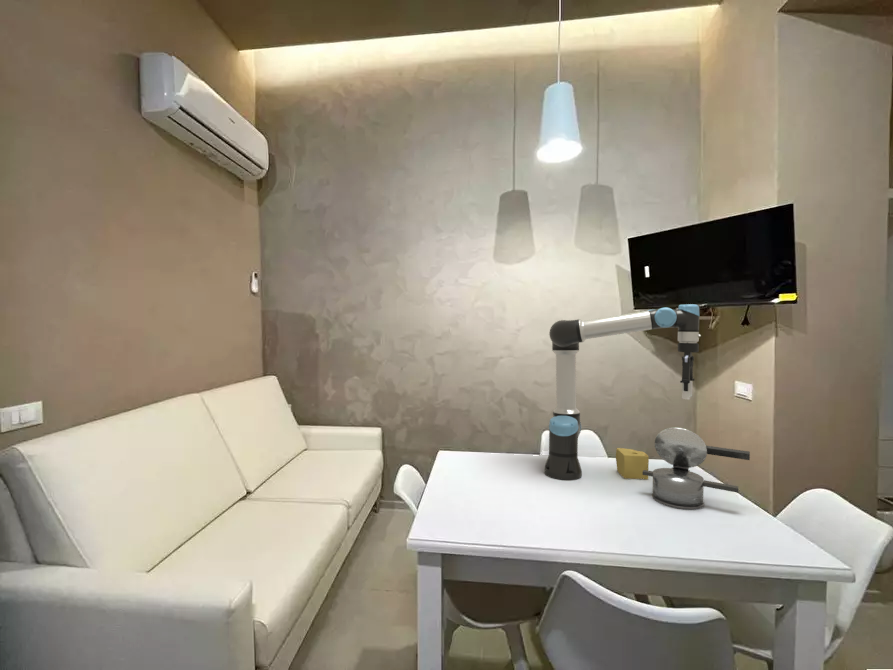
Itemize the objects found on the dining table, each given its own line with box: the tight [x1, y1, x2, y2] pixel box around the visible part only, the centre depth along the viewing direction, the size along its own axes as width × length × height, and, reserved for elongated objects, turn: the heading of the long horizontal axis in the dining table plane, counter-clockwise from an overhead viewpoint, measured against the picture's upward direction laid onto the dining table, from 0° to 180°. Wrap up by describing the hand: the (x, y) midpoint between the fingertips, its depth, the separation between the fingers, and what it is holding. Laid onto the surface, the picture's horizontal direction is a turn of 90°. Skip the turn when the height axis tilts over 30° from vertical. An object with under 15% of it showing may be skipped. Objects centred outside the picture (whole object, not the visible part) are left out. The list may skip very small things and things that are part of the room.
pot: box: [643, 467, 739, 511], centre depth 154 cm, size 29×18×9 cm, turn 56°
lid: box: [654, 426, 751, 470], centre depth 157 cm, size 30×18×2 cm
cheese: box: [615, 447, 650, 480], centre depth 181 cm, size 10×11×10 cm
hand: (687, 397), depth 177 cm, fingers open, 9 cm apart
